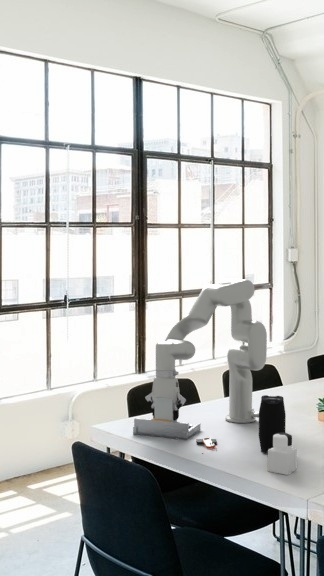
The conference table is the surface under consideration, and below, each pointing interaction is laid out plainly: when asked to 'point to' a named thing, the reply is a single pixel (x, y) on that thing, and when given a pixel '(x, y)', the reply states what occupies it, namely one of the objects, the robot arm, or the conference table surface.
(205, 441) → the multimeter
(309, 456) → the conference table surface
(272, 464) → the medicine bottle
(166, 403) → the supplement box
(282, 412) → the portable speaker
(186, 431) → the grey tray
